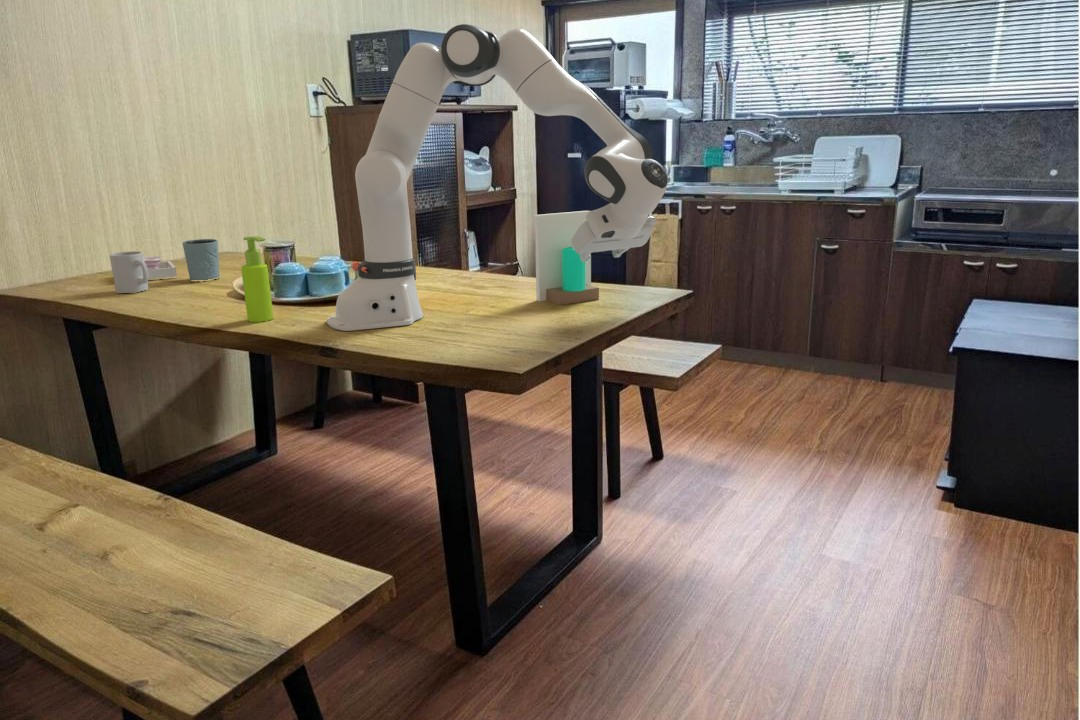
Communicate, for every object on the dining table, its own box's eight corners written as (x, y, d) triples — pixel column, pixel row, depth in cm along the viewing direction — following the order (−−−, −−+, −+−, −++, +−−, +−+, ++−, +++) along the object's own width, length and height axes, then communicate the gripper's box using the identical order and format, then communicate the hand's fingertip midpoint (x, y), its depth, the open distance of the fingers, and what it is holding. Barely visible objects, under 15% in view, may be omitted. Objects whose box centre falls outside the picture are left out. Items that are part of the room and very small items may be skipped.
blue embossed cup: (204, 276, 249) (199, 238, 246) (230, 277, 246) (225, 239, 242) (180, 282, 240) (174, 242, 237) (207, 283, 237) (201, 243, 233)
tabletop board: (553, 306, 197) (551, 217, 191) (536, 300, 204) (534, 215, 197) (605, 298, 205) (605, 213, 198) (587, 293, 211) (587, 210, 205)
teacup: (152, 273, 257) (149, 255, 255) (180, 275, 252) (177, 256, 251) (121, 280, 246) (118, 260, 244) (149, 282, 242) (146, 262, 240)
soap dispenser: (261, 323, 185) (251, 239, 179) (242, 320, 188) (231, 237, 183) (281, 318, 190) (272, 236, 184) (262, 315, 193) (252, 234, 187)
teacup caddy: (121, 284, 239) (119, 272, 238) (118, 276, 252) (116, 265, 251) (177, 278, 246) (175, 267, 245) (171, 271, 259) (169, 260, 258)
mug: (109, 292, 226) (102, 254, 223) (136, 287, 233) (129, 250, 230) (136, 296, 220) (130, 257, 217) (163, 290, 228) (157, 252, 224)
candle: (582, 291, 198) (582, 244, 195) (559, 291, 200) (559, 244, 196) (587, 287, 204) (587, 241, 200) (565, 286, 205) (564, 240, 202)
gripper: (653, 206, 186) (628, 243, 196) (581, 212, 176) (559, 251, 187) (665, 226, 183) (639, 262, 194) (593, 234, 173) (569, 272, 184)
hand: (599, 257), depth 190 cm, fingers open, 8 cm apart
